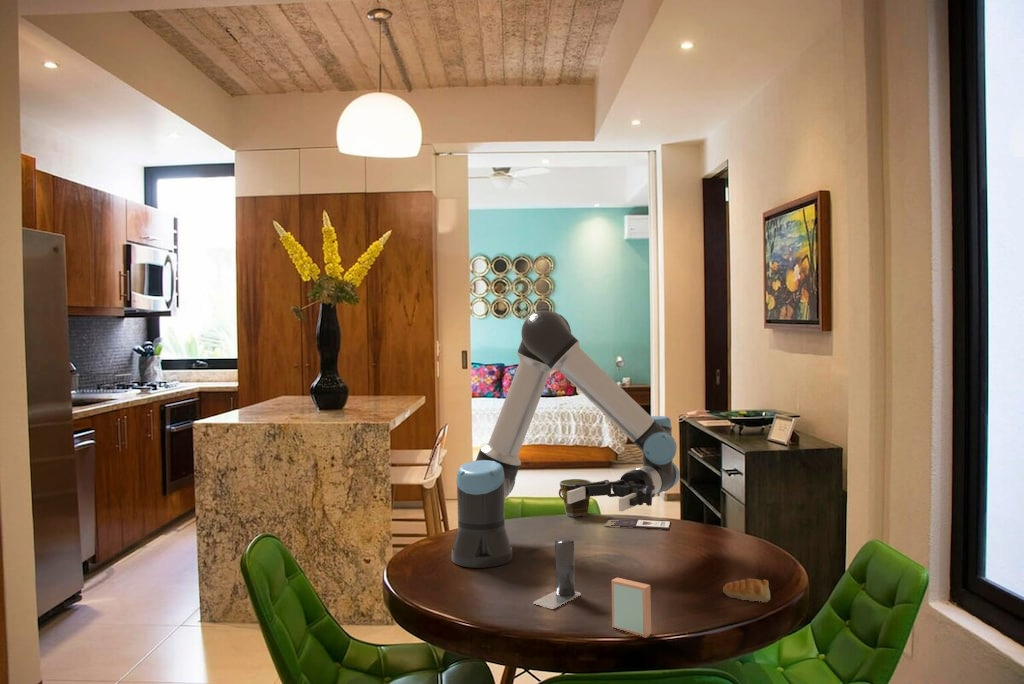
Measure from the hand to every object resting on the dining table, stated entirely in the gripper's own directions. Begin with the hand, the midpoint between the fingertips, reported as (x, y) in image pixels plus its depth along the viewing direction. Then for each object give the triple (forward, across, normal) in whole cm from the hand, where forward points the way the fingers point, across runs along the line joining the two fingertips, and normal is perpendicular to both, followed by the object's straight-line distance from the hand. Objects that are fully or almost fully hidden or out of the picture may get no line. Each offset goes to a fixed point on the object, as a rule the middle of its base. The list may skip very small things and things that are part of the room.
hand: (593, 501), depth 156 cm
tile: (+19, -20, -18) cm, 33 cm away
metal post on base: (+14, +1, -18) cm, 23 cm away
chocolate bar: (-47, +16, -19) cm, 53 cm away
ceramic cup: (-45, +36, -18) cm, 61 cm away
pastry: (-11, -31, -19) cm, 38 cm away
